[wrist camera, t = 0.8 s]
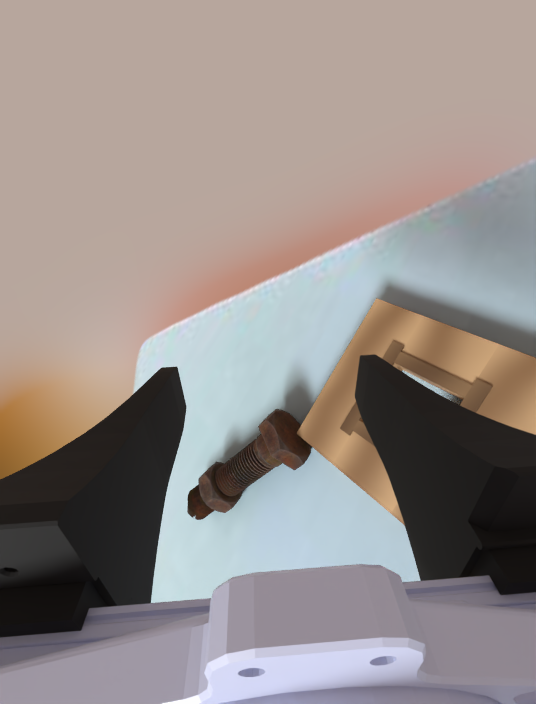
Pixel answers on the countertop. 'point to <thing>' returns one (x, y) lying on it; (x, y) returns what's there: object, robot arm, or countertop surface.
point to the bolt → (249, 465)
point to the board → (427, 364)
